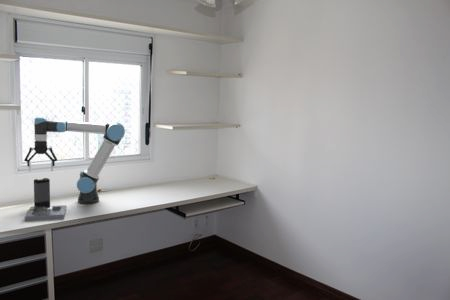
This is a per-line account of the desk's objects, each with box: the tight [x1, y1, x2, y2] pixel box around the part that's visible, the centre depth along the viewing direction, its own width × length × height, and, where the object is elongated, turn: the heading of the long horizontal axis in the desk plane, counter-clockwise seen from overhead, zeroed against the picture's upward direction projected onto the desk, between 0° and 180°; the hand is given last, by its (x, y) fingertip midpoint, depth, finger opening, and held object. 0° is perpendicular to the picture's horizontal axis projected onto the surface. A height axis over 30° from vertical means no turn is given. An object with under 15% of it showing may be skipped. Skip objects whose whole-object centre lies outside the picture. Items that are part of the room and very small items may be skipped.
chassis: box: [24, 204, 67, 222], centre depth 246 cm, size 22×22×4 cm
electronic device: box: [33, 177, 51, 209], centre depth 261 cm, size 9×6×20 cm, turn 141°
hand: (41, 171), depth 259 cm, fingers open, 13 cm apart
